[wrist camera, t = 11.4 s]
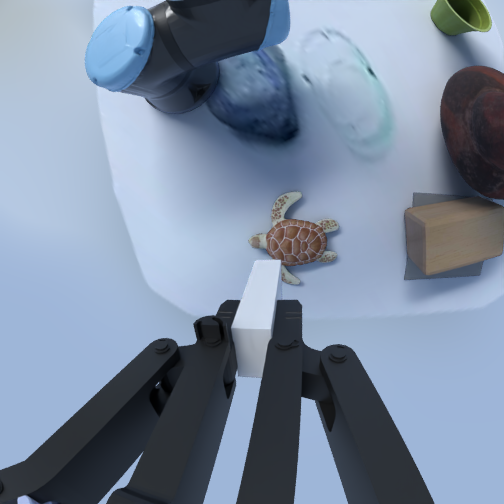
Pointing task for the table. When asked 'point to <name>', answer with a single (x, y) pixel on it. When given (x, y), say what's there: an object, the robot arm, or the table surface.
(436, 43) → the table surface
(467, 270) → the mat
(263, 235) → the decorative turtle
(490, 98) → the jug
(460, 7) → the plant pot
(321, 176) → the table surface
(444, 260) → the wooden block
